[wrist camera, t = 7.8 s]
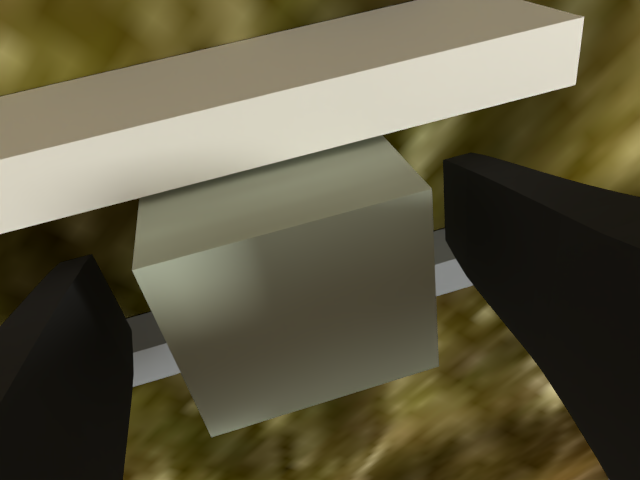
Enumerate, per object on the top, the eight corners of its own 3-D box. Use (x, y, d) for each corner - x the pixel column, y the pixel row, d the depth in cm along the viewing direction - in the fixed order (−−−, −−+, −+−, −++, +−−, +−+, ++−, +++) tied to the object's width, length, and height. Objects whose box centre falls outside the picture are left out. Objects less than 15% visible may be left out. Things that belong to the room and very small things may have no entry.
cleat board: (470, 251, 17) (543, 335, 13) (99, 359, 15) (80, 481, 12) (473, -13, 12) (584, 16, 9) (-53, 108, 11) (-147, 195, 8)
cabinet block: (350, 214, 15) (438, 366, 10) (197, 256, 14) (211, 437, 9) (330, 78, 13) (432, 188, 8) (147, 122, 12) (131, 270, 7)
